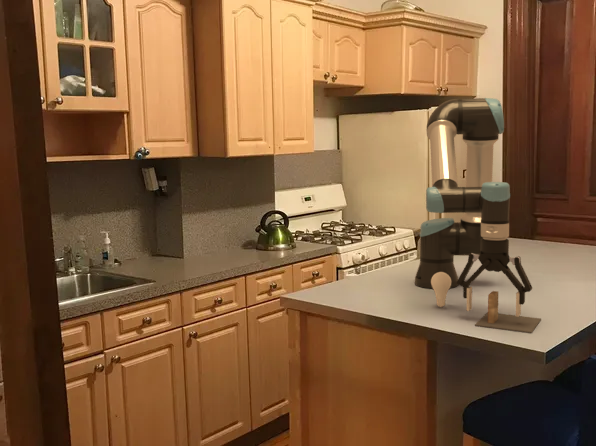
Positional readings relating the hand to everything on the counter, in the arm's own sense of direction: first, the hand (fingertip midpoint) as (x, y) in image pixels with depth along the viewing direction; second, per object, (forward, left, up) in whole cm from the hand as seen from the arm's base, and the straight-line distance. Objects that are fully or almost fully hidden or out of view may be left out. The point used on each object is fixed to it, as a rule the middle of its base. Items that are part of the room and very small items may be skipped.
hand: (493, 312), depth 179 cm
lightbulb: (-18, +9, -3) cm, 20 cm away
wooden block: (0, 0, -2) cm, 2 cm away
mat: (+4, +1, -3) cm, 5 cm away
